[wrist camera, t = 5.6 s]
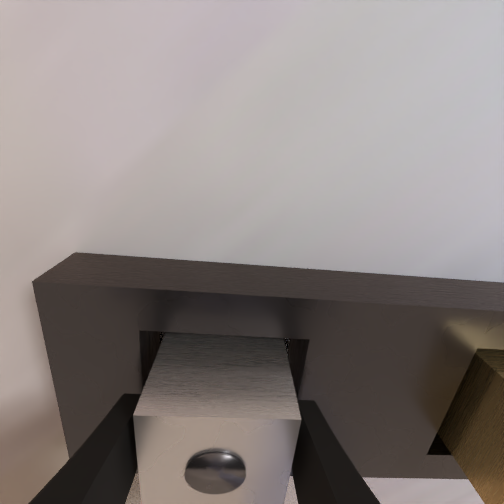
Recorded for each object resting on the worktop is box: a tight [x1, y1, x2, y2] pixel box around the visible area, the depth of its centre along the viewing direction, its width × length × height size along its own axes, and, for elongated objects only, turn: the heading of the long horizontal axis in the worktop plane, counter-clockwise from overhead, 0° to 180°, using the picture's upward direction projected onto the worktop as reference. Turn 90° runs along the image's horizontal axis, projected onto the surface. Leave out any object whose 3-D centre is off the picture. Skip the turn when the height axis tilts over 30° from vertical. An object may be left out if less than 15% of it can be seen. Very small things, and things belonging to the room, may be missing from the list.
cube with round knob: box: [133, 332, 301, 504], centre depth 11 cm, size 4×4×5 cm
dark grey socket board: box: [32, 253, 504, 479], centre depth 12 cm, size 9×24×2 cm, turn 85°
